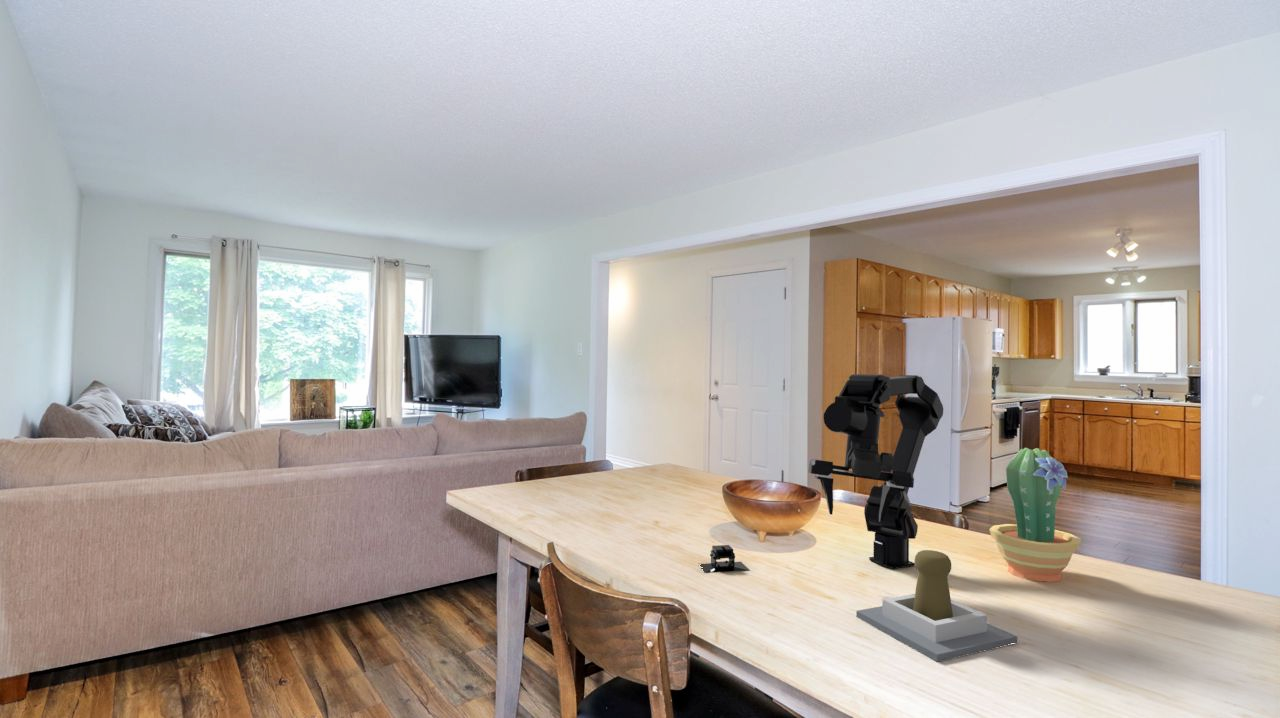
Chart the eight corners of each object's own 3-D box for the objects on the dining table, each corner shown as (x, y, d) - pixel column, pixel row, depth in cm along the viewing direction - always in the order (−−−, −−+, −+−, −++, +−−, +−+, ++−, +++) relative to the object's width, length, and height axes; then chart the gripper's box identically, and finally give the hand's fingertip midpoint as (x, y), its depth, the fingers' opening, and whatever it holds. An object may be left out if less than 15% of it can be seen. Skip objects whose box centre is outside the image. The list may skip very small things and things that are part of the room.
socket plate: (929, 603, 104) (929, 583, 104) (1017, 643, 89) (1017, 619, 90) (856, 616, 98) (856, 595, 99) (937, 661, 84) (937, 636, 84)
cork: (937, 613, 98) (937, 545, 98) (963, 629, 92) (963, 557, 92) (903, 615, 97) (903, 547, 97) (927, 632, 91) (927, 558, 91)
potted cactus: (993, 580, 116) (993, 450, 117) (986, 557, 130) (986, 442, 130) (1090, 593, 110) (1090, 456, 110) (1072, 568, 123) (1072, 446, 124)
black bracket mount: (697, 577, 118) (697, 554, 118) (688, 565, 125) (688, 543, 125) (757, 573, 120) (757, 550, 120) (745, 562, 127) (745, 540, 127)
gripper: (818, 430, 112) (810, 515, 110) (925, 443, 108) (918, 531, 106) (812, 431, 123) (804, 509, 121) (909, 444, 119) (902, 524, 117)
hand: (855, 518), depth 116 cm, fingers open, 9 cm apart
